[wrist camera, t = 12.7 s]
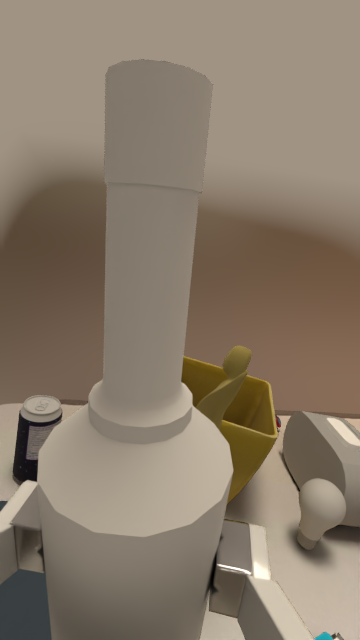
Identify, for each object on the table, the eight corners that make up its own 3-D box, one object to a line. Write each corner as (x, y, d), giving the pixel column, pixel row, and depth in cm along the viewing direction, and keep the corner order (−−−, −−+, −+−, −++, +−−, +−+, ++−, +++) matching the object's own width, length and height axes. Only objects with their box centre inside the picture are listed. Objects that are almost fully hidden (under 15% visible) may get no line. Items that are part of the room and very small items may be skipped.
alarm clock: (381, 549, 51) (416, 479, 47) (325, 542, 49) (357, 470, 46) (317, 458, 70) (339, 404, 67) (276, 452, 69) (296, 396, 66)
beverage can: (58, 463, 52) (68, 397, 49) (45, 490, 47) (56, 418, 44) (22, 457, 52) (30, 390, 49) (5, 484, 46) (13, 410, 43)
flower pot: (244, 536, 47) (279, 438, 43) (122, 491, 50) (144, 394, 46) (245, 456, 65) (270, 381, 61) (156, 426, 68) (174, 353, 64)
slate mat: (-63, 660, 28) (-63, 654, 28) (-2, 505, 43) (-1, 500, 43) (122, 644, 32) (124, 638, 32) (119, 507, 47) (120, 503, 47)
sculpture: (162, 529, 45) (217, 327, 37) (213, 548, 44) (279, 344, 36) (136, 616, 35) (204, 358, 27) (201, 643, 33) (292, 384, 26)
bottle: (202, 743, 15) (331, 111, 7) (119, 937, 11) (204, -65, 3) (121, 652, 18) (147, 127, 10) (30, 779, 13) (-52, 48, 6)
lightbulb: (329, 547, 49) (356, 487, 46) (319, 575, 44) (348, 511, 41) (290, 520, 52) (313, 462, 49) (277, 543, 47) (301, 482, 44)
